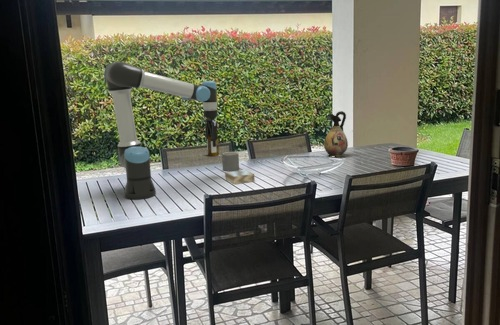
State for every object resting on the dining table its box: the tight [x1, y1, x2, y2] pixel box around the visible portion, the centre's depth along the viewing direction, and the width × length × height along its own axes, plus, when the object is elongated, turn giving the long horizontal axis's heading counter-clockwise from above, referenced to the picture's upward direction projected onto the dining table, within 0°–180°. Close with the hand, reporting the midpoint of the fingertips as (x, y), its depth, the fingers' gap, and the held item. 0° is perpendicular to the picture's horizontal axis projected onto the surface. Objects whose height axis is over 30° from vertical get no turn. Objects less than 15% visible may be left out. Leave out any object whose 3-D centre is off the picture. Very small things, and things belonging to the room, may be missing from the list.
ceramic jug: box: [323, 110, 349, 158], centre depth 299 cm, size 17×15×30 cm
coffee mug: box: [221, 151, 240, 172], centre depth 274 cm, size 13×10×10 cm
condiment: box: [202, 134, 222, 158], centre depth 251 cm, size 7×8×12 cm
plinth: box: [224, 169, 255, 185], centre depth 246 cm, size 12×12×4 cm
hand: (211, 151), depth 252 cm, fingers closed on condiment, 6 cm apart
